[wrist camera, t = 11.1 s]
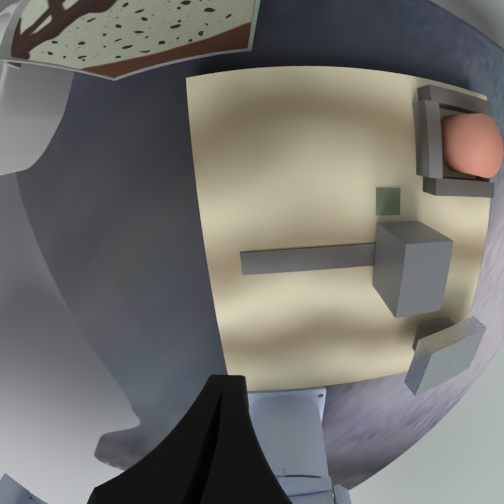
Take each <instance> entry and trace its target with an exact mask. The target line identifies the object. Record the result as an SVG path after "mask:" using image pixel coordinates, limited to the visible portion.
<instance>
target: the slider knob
mask: <svg viewBox="0 0 504 504" xmlns="http://www.w3.org/2000/svg"><path fill="white" fill-rule="evenodd" d="M452 249H453V240H451V239H450V238H448V237H446V236H445V235H443V234H441V233H439V232H438V231H436V230H434V229H432V228H431V227H429V226H427V225H425V224H424V223H422V222H420V221H408V222H384V223H377V229H376V248H375V262H374V273H373V284H372V285H373V287H374V288H375V290H376V291H377V292H378V294H379V295H380V297H381V298H382V300H383V301H384V302H385V304H386V305H387V307H388V308H389V310H390V311H391V313H392V314H393V316H394V317H395V318H400V317H406V316H412V315H417V314H423V313H428V312H433V311H438V310H440V308H441V304H442V300H443V296H444V292H445V287H446V282H447V278H448V272H449V267H450V261H451V255H452Z"/></svg>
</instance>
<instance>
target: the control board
mask: <svg viewBox="0 0 504 504" xmlns="http://www.w3.org/2000/svg"><path fill="white" fill-rule="evenodd" d="M186 86H187V99H188V111H189V122H190V133H191V143H192V152H193V161H194V170H195V179H196V187H197V195H198V202H199V210H200V217H201V224H202V231H203V238H204V245H205V251H206V258H207V264H208V270H209V277H210V283H211V288H212V294H213V300H214V306H215V311H216V317H217V322H218V327H219V333H220V338H221V343H222V348H223V353H224V358H225V363H226V368H227V372H228V375H243V376H245V377H246V385H247V391H263V390H283V389H297V388H309V387H318V386H327V385H335V384H342V383H349V382H356V381H362V380H368V379H373V378H378V377H384V376H388V375H393V374H398V373H402V372H407V371H409V368H410V365H411V362H412V359H413V356H414V353H415V350H416V346H417V343H418V340H419V339H422V338H424V337H427V336H429V335H432V334H434V333H437V332H439V331H442V330H444V329H446V328H449V327H451V326H453V325H456V324H458V323H460V322H462V321H464V320H467V318H468V315H469V312H470V308H471V305H472V301H473V298H474V294H475V290H476V286H477V282H478V278H479V274H480V269H481V264H482V259H483V254H484V248H485V242H486V235H487V228H488V220H489V210H490V198H493V194H494V183H498V174H499V171H498V172H497V173H496V174H495V175H494V176H493V177H490V178H484V177H480V176H476V175H472V174H467V173H462V172H457V171H453V170H451V169H449V168H448V167H446V166H445V165H444V163H443V161H442V136H441V122H440V121H441V120H442V119H443V118H444V117H446V116H451V115H462V114H476V113H482V114H485V115H487V116H489V117H490V118H491V119H492V120H493V121H494V123H495V124H496V126H497V121H496V118H495V117H492V114H491V105H490V102H489V101H487V97H486V96H484V95H482V94H479V93H476V92H473V91H470V90H466V89H463V88H460V87H456V86H453V85H449V84H445V83H441V82H437V81H433V80H429V79H424V78H420V77H415V76H410V75H404V74H398V73H392V72H385V71H378V70H369V69H359V68H347V67H328V66H283V67H264V68H252V69H241V70H233V71H225V72H218V73H211V74H205V75H199V76H194V77H188V78H186ZM408 221H420V222H422V223H424V224H425V225H427V226H429V227H431V228H432V229H434V230H436V231H438V232H439V233H441V234H443V235H445V236H446V237H448V238H450V239H451V240H453V249H452V255H451V261H450V267H449V272H448V278H447V282H446V287H445V292H444V296H443V300H442V304H441V308H440V310H438V311H433V312H428V313H423V314H417V315H412V316H406V317H400V318H395V317H394V316H393V314H392V313H391V311H390V310H389V308H388V307H387V305H386V304H385V302H384V301H383V300H382V298H381V297H380V295H379V294H378V292H377V291H376V290H375V288H374V287H373V285H372V284H373V273H374V262H375V248H376V229H377V223H384V222H408Z"/></svg>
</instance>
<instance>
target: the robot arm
mask: <svg viewBox="0 0 504 504" xmlns="http://www.w3.org/2000/svg"><path fill="white" fill-rule="evenodd" d="M325 398H326V387H324V386H318V387H309V388H297V389H283V390H263V391H247V385H246V377H245V376H243V375H211V376H210V377H209V379H208V380H207V382H206V384H205V386H204V387H203V389H202V391H201V392H200V394H199V395H198V397H197V399H196V400H195V402H194V403H193V404H192V406H191V407H190V409H189V410H188V411H187V413H186V414H185V415H184V417H183V418H182V419H181V420H180V422H179V423H178V424H177V425H176V427H175V428H174V429H173V430H172V431H171V432H170V433H169V435H168V436H167V437H166V438H165V439H164V440H163V441H162V442H161V443H160V444H159V445H158V446H157V447H156V448H154V449H153V450H152V451H151V452H150V453H149V454H148V455H146V456H145V457H144V458H143V459H142V460H140V461H139V462H138V463H136V464H135V465H133V466H132V467H130V468H129V469H127V470H126V471H124V472H123V473H122V474H120V475H119V476H117V477H115V478H113V479H111V480H109V481H107V482H105V483H103V484H101V485H99V486H97V487H95V488H94V490H93V492H92V493H91V495H90V497H89V500H88V502H87V504H351V500H350V495H349V492H348V490H347V489H345V488H344V487H342V486H341V485H335V486H333V491H334V502H333V495H332V487H331V479H330V477H329V475H328V468H327V460H326V453H325V446H324V439H323V432H322V425H321V424H322V418H323V411H324V405H325ZM0 504H47V503H45V502H44V501H42V500H41V499H39V498H37V497H36V496H34V495H33V494H31V493H30V492H29V491H28V490H27V489H25V488H24V487H23V486H21V485H20V484H19V483H17V482H16V481H15V480H13V479H12V478H11V477H9V476H8V475H7V474H4V475H3V477H2V478H1V480H0Z"/></svg>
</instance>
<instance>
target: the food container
mask: <svg viewBox="0 0 504 504" xmlns="http://www.w3.org/2000/svg"><path fill="white" fill-rule="evenodd" d="M259 5H260V0H20V1H19V3H18V4H17V6H16V8H15V10H14V11H13V13H12V15H11V17H10V19H9V22H8V24H7V26H6V28H5V31H4V34H3V37H2V40H1V43H0V61H3V64H4V65H7V66H10V67H13V68H16V69H20V68H21V63H25V64H34V65H41V66H48V67H54V68H59V69H65V70H70V71H75V72H80V73H85V74H89V75H94V76H98V77H102V78H106V79H110V80H114V81H115V80H118V79H121V78H124V77H127V76H130V75H133V74H136V73H140V72H143V71H147V70H150V69H154V68H158V67H161V66H165V65H169V64H174V63H178V62H183V61H188V60H192V59H198V58H203V57H209V56H215V55H222V54H230V53H238V52H248V51H252V45H253V39H254V33H255V28H256V22H257V16H258V11H259Z"/></svg>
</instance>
